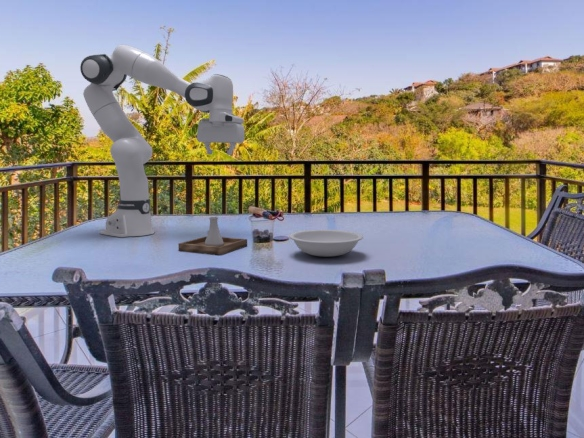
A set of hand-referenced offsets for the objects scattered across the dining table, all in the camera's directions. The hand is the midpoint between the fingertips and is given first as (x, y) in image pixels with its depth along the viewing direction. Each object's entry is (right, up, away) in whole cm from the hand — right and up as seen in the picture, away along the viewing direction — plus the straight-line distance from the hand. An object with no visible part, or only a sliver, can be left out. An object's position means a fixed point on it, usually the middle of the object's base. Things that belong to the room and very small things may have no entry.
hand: (219, 154), depth 188 cm
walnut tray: (+1, -35, -18) cm, 40 cm away
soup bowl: (+39, -37, -30) cm, 62 cm away
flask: (+1, -35, -18) cm, 39 cm away
